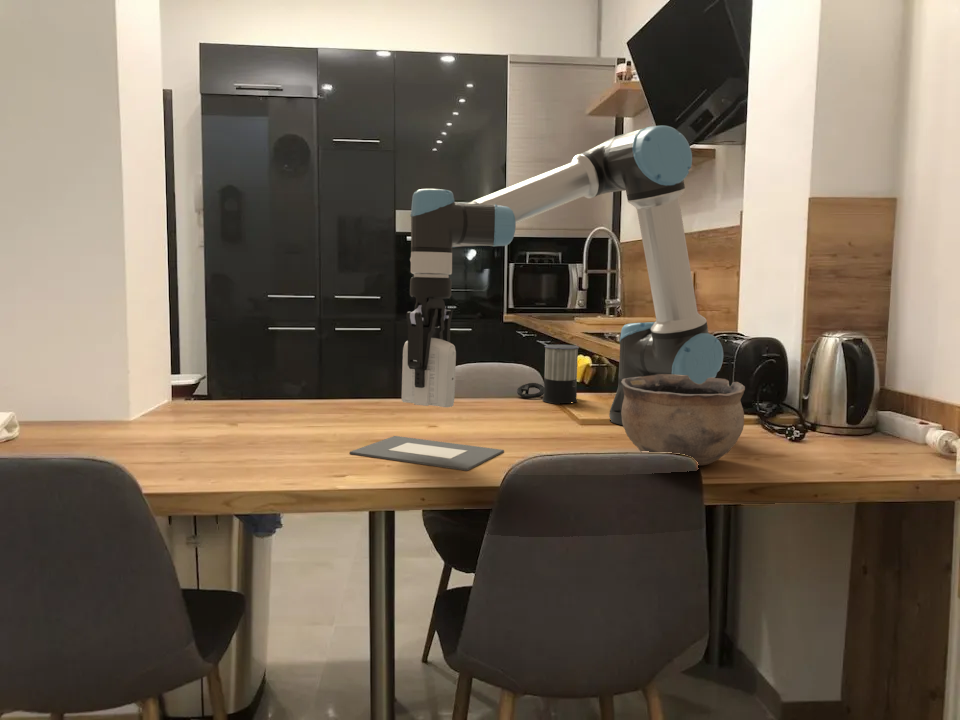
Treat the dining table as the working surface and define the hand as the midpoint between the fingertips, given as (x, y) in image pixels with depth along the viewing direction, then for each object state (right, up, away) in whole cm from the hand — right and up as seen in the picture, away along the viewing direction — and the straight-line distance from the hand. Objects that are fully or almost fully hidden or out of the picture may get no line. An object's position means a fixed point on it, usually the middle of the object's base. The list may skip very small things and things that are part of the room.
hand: (428, 402), depth 145 cm
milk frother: (+27, -3, +65) cm, 70 cm away
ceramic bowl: (+46, -11, -1) cm, 47 cm away
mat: (0, -9, +1) cm, 9 cm away
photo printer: (0, -1, 0) cm, 0 cm away
